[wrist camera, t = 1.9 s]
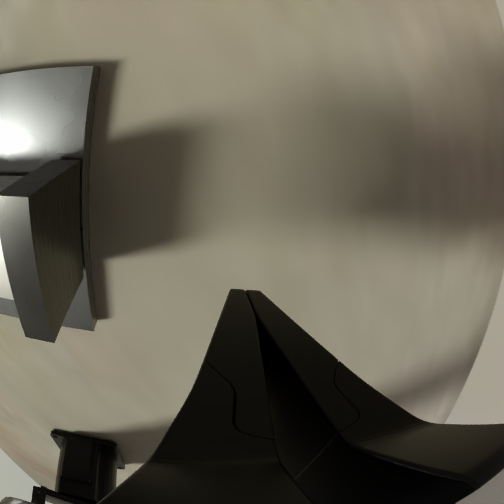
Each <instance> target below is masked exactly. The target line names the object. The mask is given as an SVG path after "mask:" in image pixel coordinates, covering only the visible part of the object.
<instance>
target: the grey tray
mask: <svg viewBox="0 0 504 504" xmlns="http://www.w3.org/2000/svg"><path fill="white" fill-rule="evenodd" d="M99 71H100V67H97V66H73V67H57V68H45V69H35V70H27V71H19V72H12V73H6V74H0V176H25V175H27V174H28V173H30V172H32V171H33V170H35V169H37V168H38V167H40V166H42V165H44V164H45V163H47V162H49V161H51V160H52V159H58V160H80V190H79V198H80V233H81V250H82V262H83V273H84V278H83V280H82V282H81V284H80V286H79V288H78V290H77V292H76V294H75V296H74V299H73V301H72V303H71V305H70V307H69V310H68V312H67V314H66V316H65V319H64V321H63V323H62V326H64V327H70V328H76V329H83V330H89V331H94V328H95V325H96V322H97V318H96V310H95V302H94V294H93V285H92V274H91V261H90V246H89V218H88V187H89V159H90V144H91V132H92V121H93V112H94V104H95V96H96V89H97V83H98V77H99ZM0 314H4V315H8V316H13V317H17V318H19V315H18V312H17V309H16V305H15V302H14V300H11V299H6V298H2V297H0Z"/></svg>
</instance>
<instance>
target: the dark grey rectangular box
mask: <svg viewBox="0 0 504 504" xmlns="http://www.w3.org/2000/svg"><path fill="white" fill-rule="evenodd" d="M79 190H80V160H58V159H52V160H51V161H49V162H47V163H45V164H44V165H42V166H40V167H38V168H37V169H35V170H33V171H32V172H30V173H28V174H27V175H25V176H0V297H2V298H6V299H11V300H14V302H15V305H16V309H17V312H18V315H19V318H20V321H21V325H22V328H23V330H24V333H25V336H26V337H28V338H33V339H38V340H42V341H47V342H52V343H55V340H56V338H57V335H58V333H59V330H60V328H61V326H62V323H63V321H64V319H65V316H66V314H67V312H68V310H69V307H70V305H71V303H72V301H73V299H74V296H75V294H76V292H77V290H78V288H79V286H80V284H81V282H82V280H83V278H84V273H83V262H82V250H81V233H80V198H79Z"/></svg>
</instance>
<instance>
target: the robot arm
mask: <svg viewBox="0 0 504 504" xmlns="http://www.w3.org/2000/svg"><path fill="white" fill-rule="evenodd" d="M50 435H51V437H52V438H53V440H54V441H55V442H56V444H57V445H58V447H59V448H60V449H61V450H60V456H59V462H58V469H57V476H56V484H55V491H52V490H49V489H47V488H46V487H44V486H41V488H40V487H36V486H33V493H32V501H31V502H27V501H24V500H21V499H17V498H13V497H5V498H4V499H3V500H2V501H1V502H0V504H45V501H47V502H50V503H53V504H504V424H489V425H459V424H458V425H457V424H436V423H430V422H427V421H423V420H421V419H419V418H417V417H415V416H413V415H412V414H410V413H409V412H407V411H406V410H404V409H403V408H401V407H400V406H398V405H397V404H395V403H394V402H393V401H391V400H390V399H388V398H387V397H385V396H384V395H382V394H381V393H380V392H378V391H377V390H375V389H374V388H373V387H371V386H370V385H369V384H367V383H366V382H364V381H363V380H362V379H361V378H359V377H358V376H357V375H356V374H354V373H353V372H352V371H351V370H350V369H348V368H347V367H346V366H345V365H344V364H343V363H341V362H340V361H338V359H337V358H335V357H334V356H333V355H332V354H331V353H330V352H328V351H327V350H326V349H325V348H324V347H323V346H322V345H320V344H319V343H318V342H317V341H316V340H315V339H314V338H312V337H311V336H310V335H309V334H308V333H307V332H306V331H304V330H303V329H302V328H301V327H300V326H299V325H298V324H296V323H295V322H294V321H293V320H292V319H291V318H290V317H289V316H287V315H286V314H285V313H284V312H283V311H282V310H281V309H280V308H278V307H277V306H276V305H275V304H274V303H273V302H272V301H271V300H269V299H268V298H267V297H266V296H265V295H264V294H263V293H262V292H260V291H257V290H246V291H245V290H242V289H231V290H230V291H229V294H228V296H227V299H226V302H225V304H224V307H223V310H222V312H221V315H220V318H219V320H218V323H217V326H216V328H215V331H214V334H213V336H212V339H211V342H210V344H209V347H208V350H207V353H206V355H205V358H204V361H203V363H202V365H201V368H200V371H199V374H198V376H197V378H196V381H195V383H194V385H193V388H192V390H191V392H190V393H189V395H188V397H187V399H186V401H185V403H184V404H183V406H182V408H181V409H180V411H179V413H178V414H177V416H176V418H175V419H174V421H173V423H172V424H171V426H170V428H169V429H168V431H167V432H166V434H165V436H164V437H163V439H162V441H161V442H160V444H159V445H158V447H157V448H156V450H155V451H154V452H153V454H152V455H151V456H150V458H149V459H148V460H147V461H146V462H145V464H143V465H142V466H141V467H140V468H139V469H138V470H137V471H135V472H134V473H133V474H132V475H131V476H130V477H128V478H127V479H126V480H125V481H124V482H123V483H121V484H120V485H119V486H118V487H117V488H116V477H117V469H125V464H124V461H123V459H122V456H121V454H120V451H119V449H118V446H117V444H115V443H113V442H108V441H102V440H96V439H90V438H85V437H80V436H75V435H71V434H66V433H62V432H58V431H53V430H52V431H51V434H50Z"/></svg>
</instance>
